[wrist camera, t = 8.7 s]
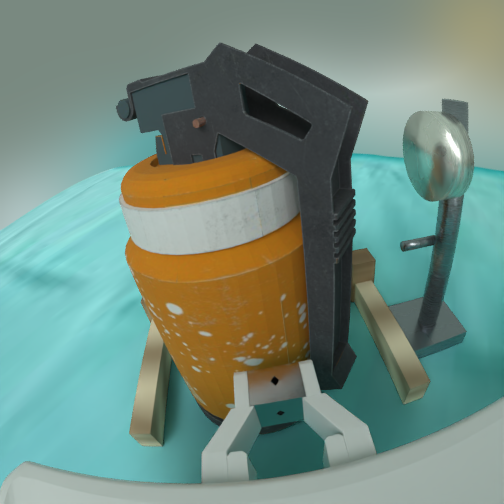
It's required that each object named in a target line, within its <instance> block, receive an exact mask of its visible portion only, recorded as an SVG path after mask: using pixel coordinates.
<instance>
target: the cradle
mask: <svg viewBox="0 0 504 504" xmlns="http://www.w3.org/2000/svg"><path fill="white" fill-rule="evenodd" d="M375 261H376V260H375V259H374V257H373V256H372V255H371V253H370V252H369V251H368V249H367V248H364V249H359V250H354V251H352V283H351V302H355V304H356V306H357V308H358V310H359V312H360V314H361V316H362V318H363V320H364V322H365V324H366V326H367V328H368V330H369V332H370V334H371V336H372V338H373V340H374V342H375V344H376V346H377V348H378V350H379V352H380V354H381V356H382V359H383V361H384V363H385V365H386V367H387V369H388V371H389V374H390V376H391V378H392V380H393V382H394V384H395V387H396V389H397V391H398V393H399V396H400V398H401V400H402V403H403V405H404V404H406V403H409V402H412V401H415V400H417V399H420V398H422V397H423V395H424V394H425V392H426V389H427V387H428V385H429V383H430V380H429V378H428V376H427V374H426V372H425V370H424V368H423V366H422V365H421V363H420V361H419V359H418V357H417V356H416V354H415V352H414V350H413V348H412V347H411V345H410V343H409V341H408V340H407V338H406V336H405V334H404V333H403V331H402V329H401V328H400V326H399V324H398V323H397V321H396V319H395V318H394V316H393V314H392V313H391V311H390V309H389V308H388V306H387V304H386V303H385V301H384V299H383V298H382V296H381V295H380V293H379V291H378V290H377V288H376V287H375V285H374V274H375ZM141 304H142V306H143V308H144V310H145V312H146V314H147V316H148V318H149V320H150V323H151V325H150V329H149V333H148V338H147V342H146V347H145V351H144V356H143V361H142V365H141V370H140V375H139V380H138V386H137V391H136V396H135V402H134V407H133V413H132V419H131V425H130V431H129V434H130V435H131V436H132V437H133V438H134V439H135V440H137V441H138V442H139V443H140V444H141V445H142V446H163V434H164V423H165V412H166V403H167V394H168V385H169V376H170V368H171V360H172V357H171V355H170V353H169V351H168V349H167V347H166V345H165V343H164V341H163V339H162V337H161V335H160V333H159V331H158V329H157V327H156V325H155V323H154V321H153V319H152V317H151V315H150V313H149V311H148V308H147V306H146V304H145V302H144V300H143V297H142V300H141Z"/></svg>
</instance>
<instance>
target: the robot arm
mask: <svg viewBox="0 0 504 504" xmlns="http://www.w3.org/2000/svg"><path fill="white" fill-rule="evenodd" d="M233 377H234V397H235V408H234V409H231V410H230V412H229V413H228V415H227V416H226V418H225V419H224V421H223V422H222V424H221V425H220V427H219V428H218V430H217V431H216V433H215V434H214V436H213V437H212V439H211V440H210V442H209V443H208V445H207V446H206V447H205V449H204V450H203V452H202V483H194V484H183V483H154V482H140V481H129V480H120V479H112V478H104V477H98V476H92V475H86V474H81V473H75V472H71V471H66V470H61V469H57V468H53V467H49V466H45V465H41V464H38V463H34V462H30V461H25V462H23V463H22V464H20V465H19V466H18V467H17V468H15V469H14V470H13V471H12V472H11V473H10V474H9V475H8V476H7V477H6V478H5V480H4V482H3V484H2V486H1V489H0V504H504V396H503V397H502V398H500V399H498V400H497V401H495V402H493V403H492V404H490V405H488V406H486V407H485V408H483V409H481V410H479V411H477V412H475V413H474V414H472V415H470V416H468V417H466V418H464V419H462V420H460V421H458V422H456V423H454V424H452V425H450V426H448V427H445V428H443V429H441V430H439V431H437V432H434V433H432V434H430V435H427V436H425V437H423V438H420V439H418V440H415V441H413V442H410V443H407V444H405V445H402V446H399V447H397V448H394V449H391V450H388V451H385V452H382V453H379V454H377V453H376V450H375V447H374V444H373V440H372V437H371V434H370V431H369V428H368V425H366V424H365V423H364V422H362V421H361V420H360V419H358V418H357V417H356V416H354V415H353V414H352V413H350V412H349V411H348V410H347V409H345V408H344V407H343V406H341V405H340V404H339V403H337V402H336V401H335V400H334V399H332V398H331V397H330V396H329V395H327V394H326V393H321V390H320V387H319V383H318V379H317V376H316V372H315V369H314V365H313V362H312V360H311V359H310V360H305V361H301V362H294V363H289V364H284V365H279V366H274V367H271V368H264V369H257V370H250V371H242V372H235V373H234V376H233ZM300 420H304V421H305V422H306V423H307V424H308V425H309V426H310V427H311V428H312V429H313V430H314V431H315V432H316V433H317V434H318V435H319V436H320V437H321V438H322V439H323V440H324V441H325V443H324V452H323V465H324V469H319V470H315V471H310V472H305V473H299V474H294V475H288V476H281V477H274V478H267V479H259V480H258V479H257V472H256V470H255V468H254V466H253V465H252V463H251V461H250V459H249V457H248V454H249V452H250V450H251V448H252V446H253V444H254V442H255V440H256V438H257V437H258V435H259V433H260V431H261V429H262V428H261V427H265V426H271V425H276V424H282V423H288V422H294V421H300Z"/></svg>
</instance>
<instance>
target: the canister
mask: <svg viewBox="0 0 504 504" xmlns="http://www.w3.org/2000/svg"><path fill="white" fill-rule="evenodd" d="M126 89H127V94H128V98H127V99H123V100H120V101H119V103H118V105H117V106H116V109H117V113H118V115H119V117H120V118H121V119H122V120H123V121H130V120H133V119H136V118H137V119H138V123H139V127H140V132H141V133H145V132H150V131H155V130H159V132H160V133H161V134H162V135H159V136H156V152H157V154H155V155H152V156H150V157H148V158H147V159H145V160H143V161H141V162H139V163H138V164H136V165H135V166H133V167H132V168H131V169H129V171H128V172H127V173H126V174H125V176H124V178H123V180H122V183H121V192H122V193H121V195H120V197H119V202H120V205H121V208H122V212H123V215H124V218H125V221H126V224H127V227H128V230H129V233H130V235H131V236H130V238H129V240H128V242H127V245H126V249H125V256H126V260H127V263H128V265H129V268H130V270H131V272H132V275H133V277H134V279H135V282H136V284H137V286H138V289H139V291H140V293H141V295H142V297H143V300H144V302H145V304H146V306H147V308H148V311H149V313H150V315H151V317H152V319H153V321H154V323H155V325H156V327H157V329H158V331H159V333H160V335H161V337H162V339H163V341H164V343H165V345H166V347H167V349H168V351H169V353H170V355H171V357H172V359H173V361H174V362H175V364H176V366H177V368H178V370H179V372H180V373H181V375H182V377H183V379H184V381H185V382H186V384H187V386H188V388H189V390H190V391H191V393H192V395H193V396H194V398H195V400H196V402H197V403H198V405H199V407H200V408H201V410H202V411H203V412H204V414H205V415H206V416H207V417H208V418H209V419H210V420H211V421H212V422H213V423H215V424H217V425H218V426H220V425H221V424H222V422H223V421H224V419H225V418H226V416H227V415H228V413H229V412H230V410H231V409H234V408H235V397H234V377H233V376H234V373H235V372H242V371H250V370H257V369H264V368H271V367H274V366H279V365H284V364H289V363H294V362H301V361H305V360H310V359H311V360H312V362H313V365H314V369H315V372H316V376H317V379H318V383H319V387H320V390H332V389H342V387H343V385H344V383H345V381H346V379H347V377H348V374H349V372H350V370H351V368H352V366H353V363H354V361H355V359H356V357H357V356H356V355H355V353H354V351H353V350H352V348H351V347H350V345H349V343H348V333H349V320H350V304H351V283H352V243H353V237H354V235H355V233H356V229H355V228H354V226H355V224H356V219H353V218H354V216H355V215H356V210H355V209H353V208H354V206H355V199H353V197H354V196H355V189H352V179H351V156H352V153H353V150H354V146H355V143H356V140H357V137H358V134H359V131H360V127H361V124H362V120H363V117H364V114H365V111H366V107H367V104H368V100H366V99H365V98H363V97H361V96H360V95H358V94H356V93H354V92H353V91H351V90H349V89H348V88H346V87H344V86H342V85H341V84H339V83H337V82H335V81H333V80H331V79H330V78H328V77H326V76H324V75H322V74H320V73H318V72H316V71H315V70H312V69H311V68H309V67H306V66H304V65H302V64H300V63H298V62H296V61H294V60H292V59H290V58H288V57H285V56H283V55H281V54H279V53H276V52H274V51H272V50H269V49H267V48H265V47H263V46H260V45H258V44H255V45H254V46H253V47H252V48H251V49H250V50H249V51H248V52H247V53H245V52H243V51H240V50H238V49H235V48H233V47H231V46H228V45H226V44H223V43H219V44H218V45H217V46H216V48H215V49H214V50H213V51H212V52H211V54H210V55H209V56H208V57H207V59H206V60H205V61H204V62H202V63H199V64H195V65H192V66H188V67H185V68H182V69H179V70H176V71H173V72H170V73H167V74H164V75H161V76H155V77H150V78H145V79H140V80H137V81H135V82H132V83H130V84H128V85H127V88H126ZM277 103H278V104H280V105H281V106H283V107H285V108H283V107H281V106H279V105H278V104H277ZM286 108H287V109H286ZM295 422H297V421H294V422H288V423H282V424H276V425H271V426H265V427H261V428H262V429H261V431H260V433H259V434H267V433H271V432H276V431H278V430H281V429H284V428H286V427H288V426H290V425H292V424H294V423H295Z"/></svg>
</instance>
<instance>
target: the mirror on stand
mask: <svg viewBox="0 0 504 504" xmlns="http://www.w3.org/2000/svg"><path fill="white" fill-rule="evenodd" d="M403 155H404V162H405V166H406V170H407V173H408V176H409V179H410V181H411V183H412V185H413V187H414V188H415V190H416V191H417V193H418V194H419V195H420V196H421V197H422V198H424V199H425V200H427V201H432V202H433V201H439V207H438V216H437V224H436V231H435V235H432V236H427V237H422V238H418V239H413V240H408V241H403V242H401V243H400V247H401V250H402V251H403V252H404V251H408V250H413V249H417V248H422V247H427V246H431V245H433V251H432V257H431V262H430V268H429V273H428V278H427V283H426V288H425V292H424V297H421V298H418V299H414V300H411V301H407V302H404V303H400V304H396V305H392V306H389V307H388V308H389V309H390V311H391V313H392V314H393V316H394V318H395V319H396V321H397V323H398V324H399V326H400V328H401V329H402V331H403V333H404V334H405V336H406V338H407V340H408V341H409V343H410V345H411V347H412V348H413V350H414V352H415V354H416V356H417V357H418V359H419V358H422V357H425V356H427V355H430V354H433V353H435V352H438V351H441V350H443V349H446V348H448V347H451V346H453V345H456V344H458V343H461V342H462V341H463V339H464V337H465V334H466V332H467V331H466V330H465V329H464V327H463V326H462V325H461V323H460V322H459V320H458V319H457V318H456V316H455V315H454V314H453V312H452V311H451V310H450V309H449V307H448V306H447V305H446V303H445V302H444V301H443V299H444V295H445V291H446V287H447V283H448V279H449V275H450V271H451V267H452V262H453V258H454V253H455V248H456V243H457V237H458V232H459V226H460V220H461V213H462V206H463V198H464V193H465V192H466V191H467V189H468V187H469V186H470V183H471V181H472V177H473V171H474V155H473V149H472V144H471V141H470V138H469V136H468V103H467V102H464V101H458V100H451V99H442V112H434V111H433V112H432V111H419V112H416V113H414V114H413V115H412V116H411V117H410V118H409V120H408V121H407V123H406V126H405V130H404V135H403Z"/></svg>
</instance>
